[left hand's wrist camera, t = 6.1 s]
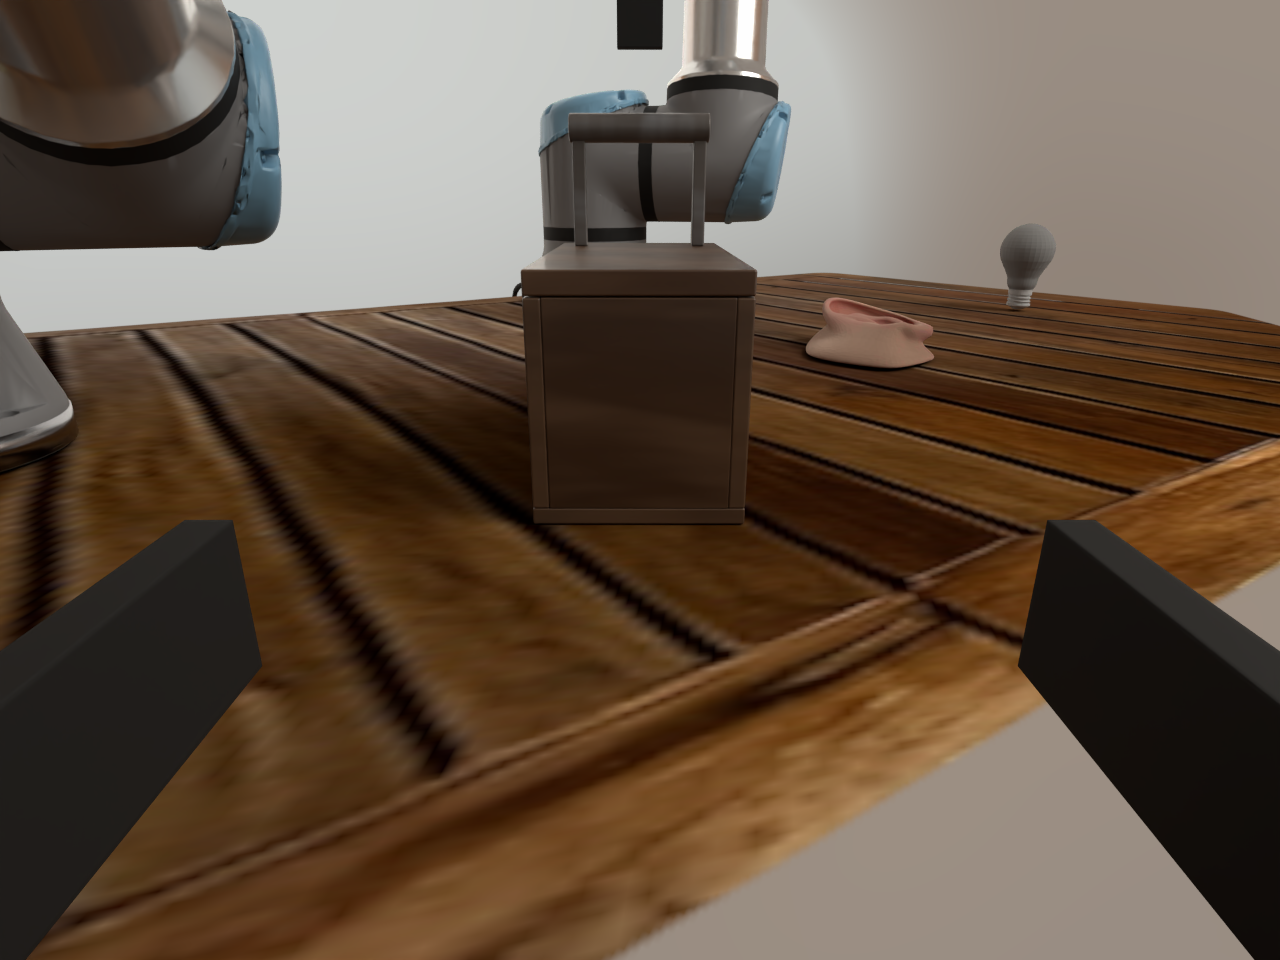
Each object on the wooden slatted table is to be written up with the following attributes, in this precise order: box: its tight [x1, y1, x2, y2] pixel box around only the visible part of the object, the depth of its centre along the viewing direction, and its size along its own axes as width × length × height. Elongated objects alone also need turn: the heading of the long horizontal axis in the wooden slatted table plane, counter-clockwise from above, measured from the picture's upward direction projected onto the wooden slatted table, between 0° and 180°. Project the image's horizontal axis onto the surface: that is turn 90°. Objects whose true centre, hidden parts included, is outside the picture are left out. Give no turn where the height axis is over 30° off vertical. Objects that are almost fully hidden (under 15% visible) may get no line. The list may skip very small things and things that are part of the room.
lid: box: [521, 113, 757, 296], centre depth 37 cm, size 18×9×8 cm, turn 0°
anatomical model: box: [806, 298, 934, 368], centre depth 67 cm, size 13×4×12 cm
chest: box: [522, 296, 756, 524], centre depth 39 cm, size 17×9×10 cm, turn 0°
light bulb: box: [1000, 224, 1056, 309], centre depth 93 cm, size 6×6×10 cm
